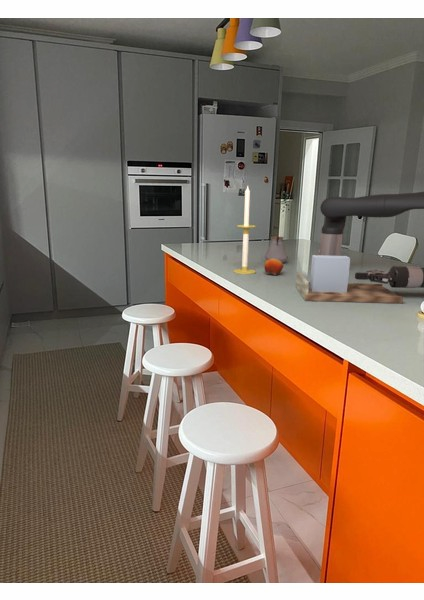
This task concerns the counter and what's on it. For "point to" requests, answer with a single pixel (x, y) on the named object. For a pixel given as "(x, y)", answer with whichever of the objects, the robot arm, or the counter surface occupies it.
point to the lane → (348, 293)
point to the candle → (245, 237)
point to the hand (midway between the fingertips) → (355, 275)
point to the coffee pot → (276, 250)
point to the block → (329, 273)
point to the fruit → (273, 266)
